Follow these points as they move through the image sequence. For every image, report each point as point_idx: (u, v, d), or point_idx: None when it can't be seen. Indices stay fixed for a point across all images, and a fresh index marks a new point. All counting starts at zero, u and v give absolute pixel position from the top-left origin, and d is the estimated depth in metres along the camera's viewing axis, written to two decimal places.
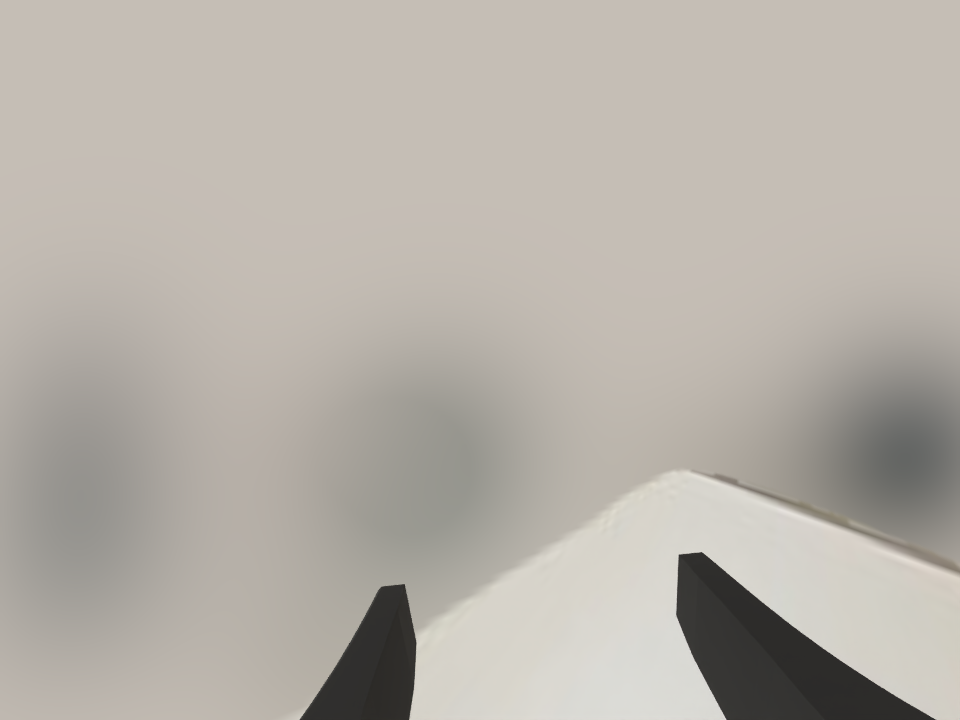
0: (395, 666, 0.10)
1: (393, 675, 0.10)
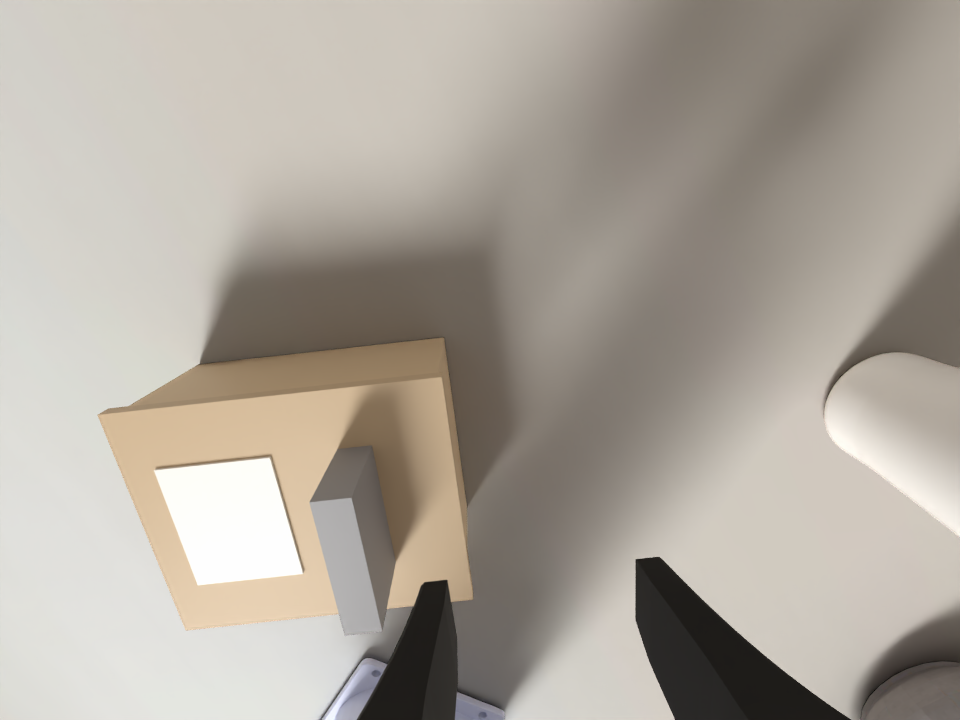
0: (444, 661, 0.10)
1: (443, 671, 0.10)
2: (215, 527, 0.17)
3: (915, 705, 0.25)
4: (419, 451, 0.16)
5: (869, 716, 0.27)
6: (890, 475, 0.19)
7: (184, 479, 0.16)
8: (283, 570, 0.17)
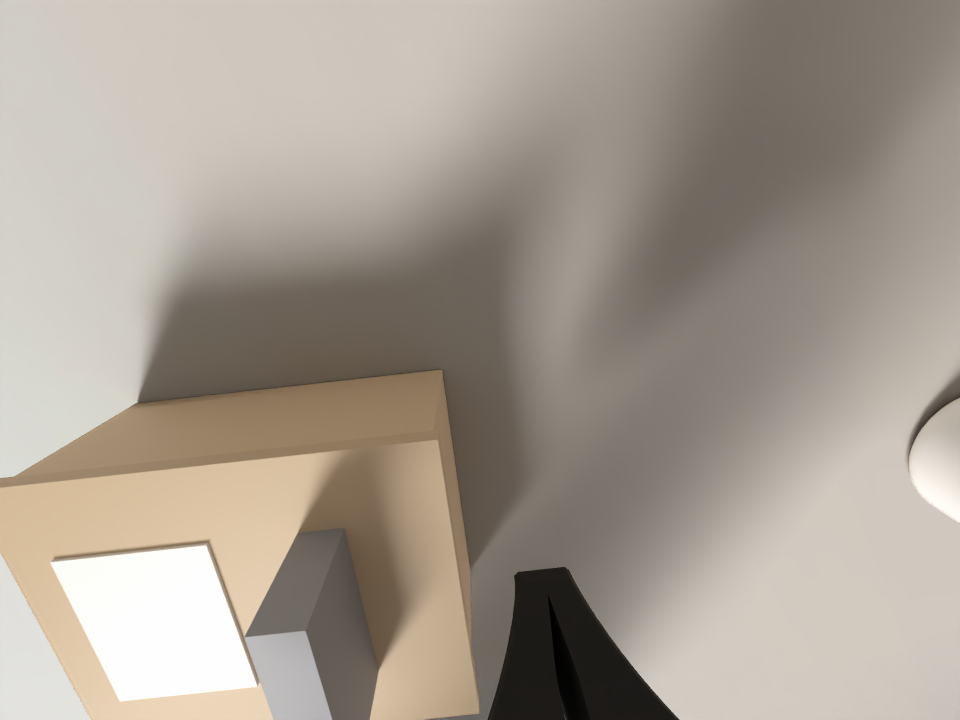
0: None
1: None
2: (138, 631, 0.13)
3: None
4: (407, 534, 0.12)
5: None
6: None
7: (92, 573, 0.12)
8: (231, 682, 0.13)
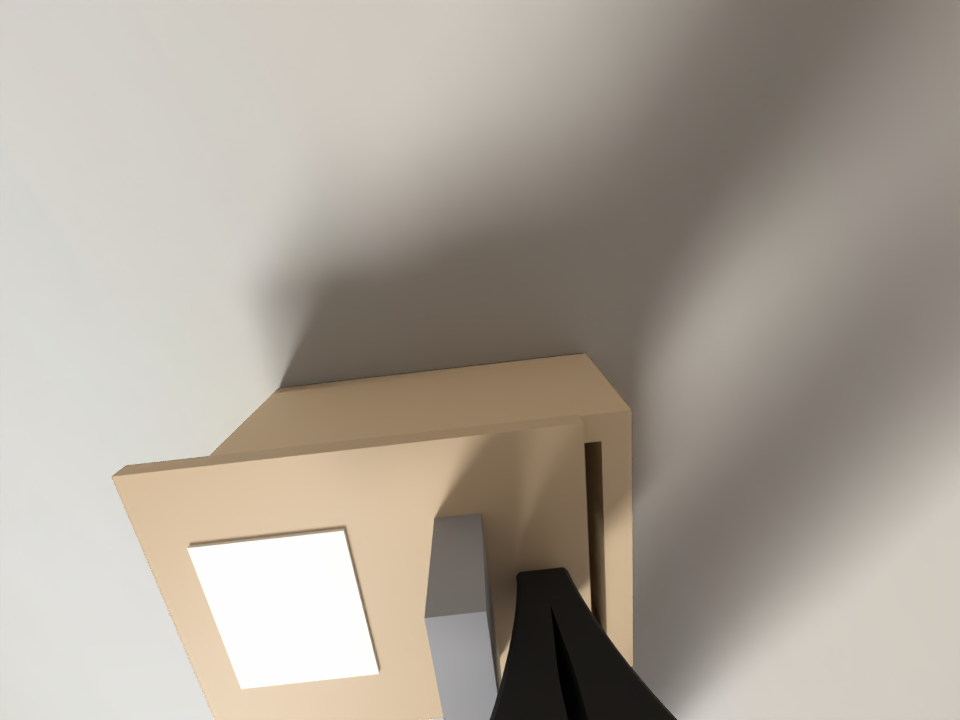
0: None
1: None
2: (265, 618, 0.13)
3: None
4: (543, 519, 0.12)
5: None
6: None
7: (227, 558, 0.12)
8: (353, 670, 0.13)
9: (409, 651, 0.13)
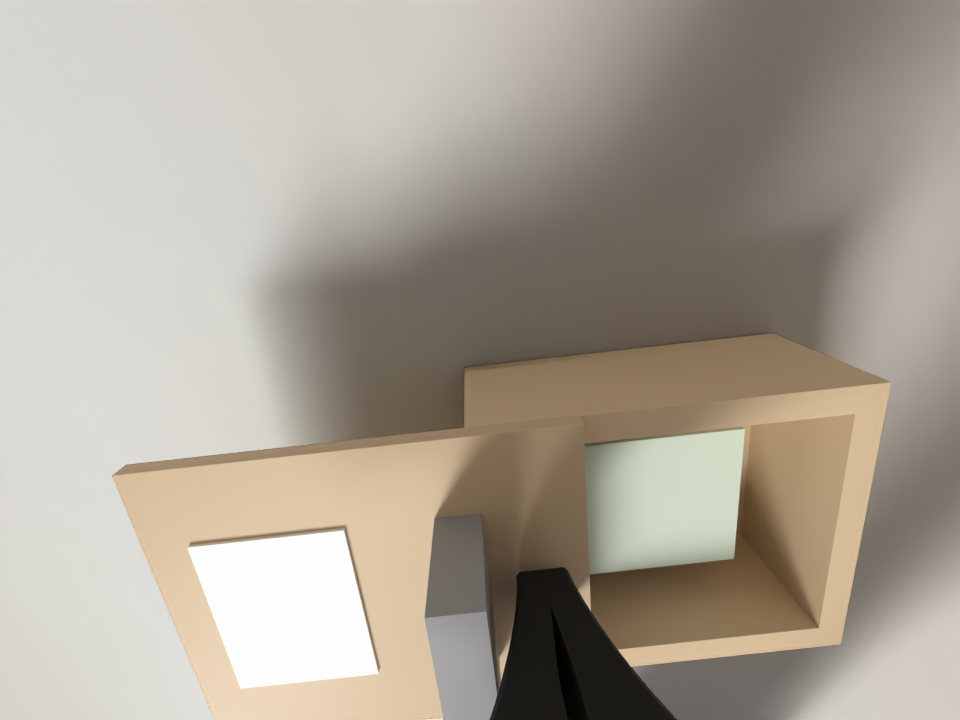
0: None
1: None
2: (265, 617, 0.13)
3: None
4: (542, 520, 0.12)
5: None
6: None
7: (227, 558, 0.12)
8: (353, 669, 0.13)
9: (409, 652, 0.13)
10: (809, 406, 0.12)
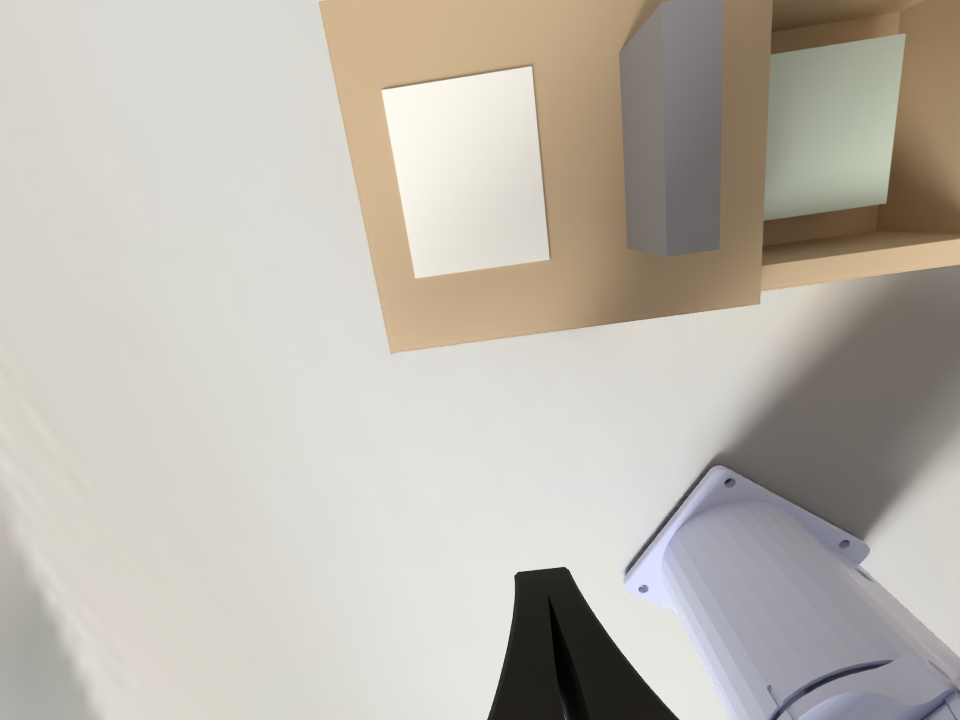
0: None
1: None
2: (446, 187, 0.13)
3: None
4: (726, 54, 0.12)
5: None
6: None
7: (418, 104, 0.12)
8: (525, 254, 0.13)
9: (580, 233, 0.13)
10: None
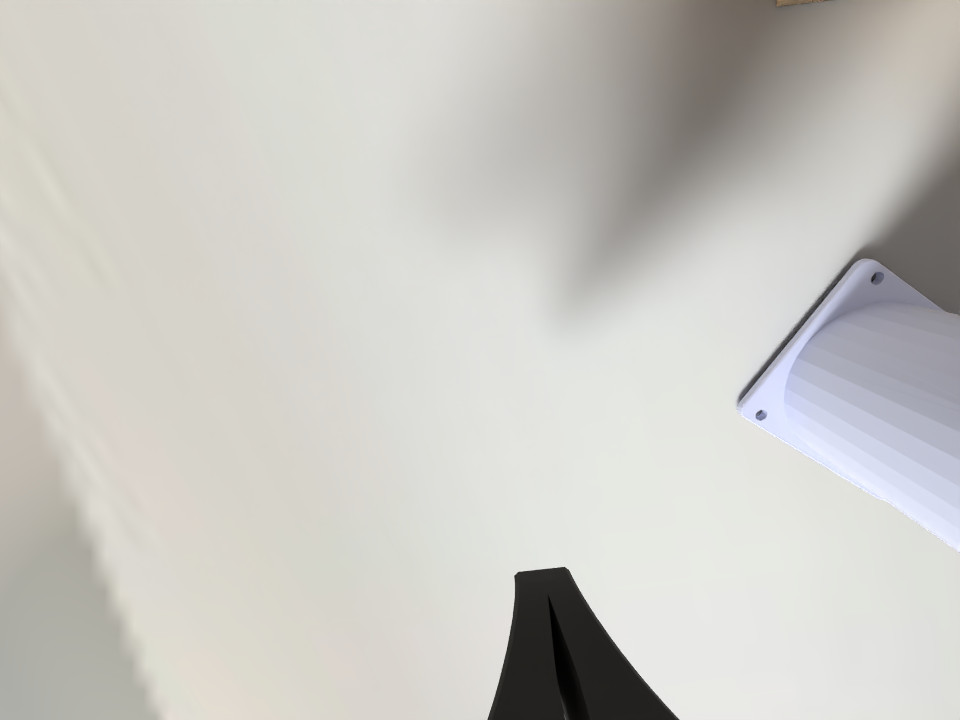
0: None
1: None
2: None
3: None
4: None
5: None
6: None
7: None
8: None
9: None
10: None
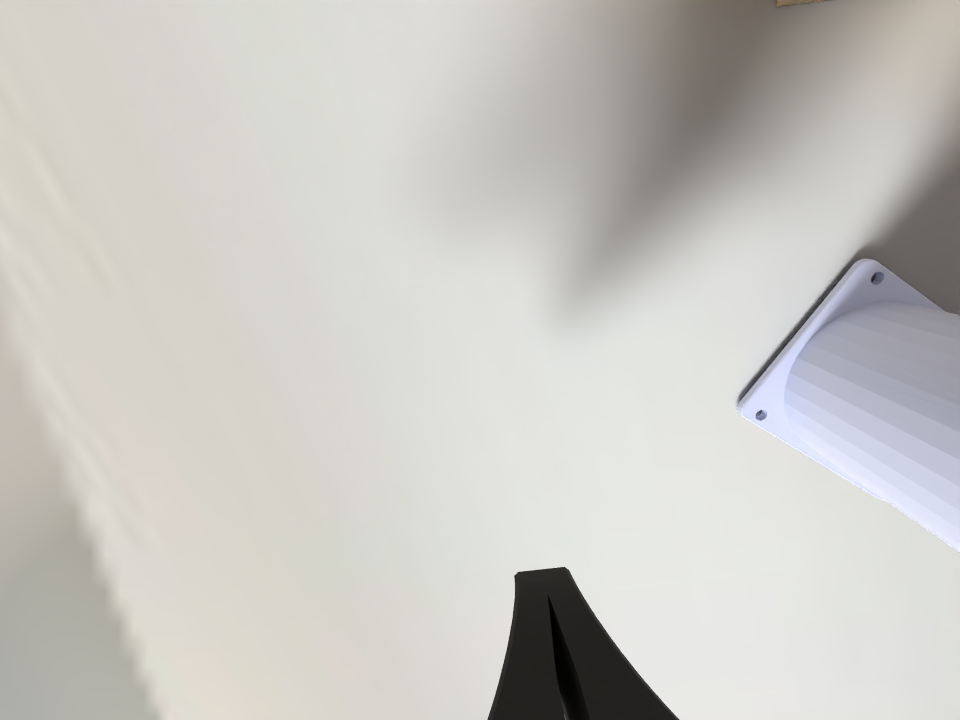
0: None
1: None
2: None
3: None
4: None
5: None
6: None
7: None
8: None
9: None
10: None
